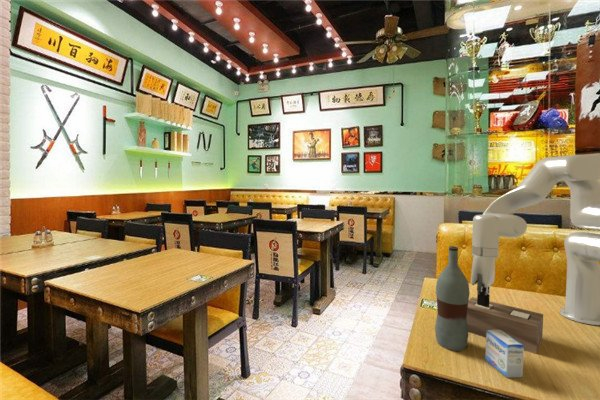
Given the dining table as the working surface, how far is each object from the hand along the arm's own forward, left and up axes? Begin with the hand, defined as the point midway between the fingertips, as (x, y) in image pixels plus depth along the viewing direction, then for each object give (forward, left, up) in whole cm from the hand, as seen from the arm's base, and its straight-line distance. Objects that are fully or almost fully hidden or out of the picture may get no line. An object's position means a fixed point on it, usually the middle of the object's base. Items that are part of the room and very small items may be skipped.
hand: (483, 305), depth 99 cm
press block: (0, +5, -8) cm, 10 cm away
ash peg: (0, 0, -8) cm, 8 cm away
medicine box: (+21, +10, -8) cm, 25 cm away
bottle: (+18, -4, -8) cm, 20 cm away
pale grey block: (0, +10, -8) cm, 13 cm away
